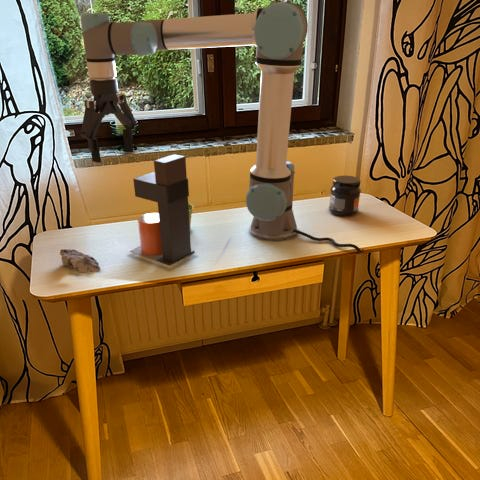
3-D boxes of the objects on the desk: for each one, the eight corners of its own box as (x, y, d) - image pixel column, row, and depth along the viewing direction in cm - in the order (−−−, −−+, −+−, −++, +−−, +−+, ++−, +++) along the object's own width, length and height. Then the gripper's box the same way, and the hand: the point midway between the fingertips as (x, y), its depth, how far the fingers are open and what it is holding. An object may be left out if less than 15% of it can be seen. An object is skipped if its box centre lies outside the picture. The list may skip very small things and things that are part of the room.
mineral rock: (105, 273, 142) (103, 259, 140) (78, 281, 138) (75, 267, 136) (85, 255, 152) (83, 242, 150) (59, 262, 148) (56, 248, 146)
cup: (172, 245, 155) (169, 213, 150) (163, 256, 148) (160, 224, 143) (147, 242, 156) (143, 211, 151) (137, 253, 150) (133, 221, 144)
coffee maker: (129, 255, 152) (116, 154, 136) (155, 243, 160) (145, 146, 144) (169, 270, 144) (160, 164, 128) (194, 256, 151) (189, 155, 135)
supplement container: (362, 210, 184) (366, 177, 178) (351, 219, 177) (355, 185, 170) (335, 205, 189) (338, 173, 182) (323, 213, 181) (326, 180, 175)
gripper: (124, 72, 150) (132, 146, 161) (57, 82, 132) (72, 164, 144) (143, 74, 147) (150, 149, 158) (77, 85, 129) (91, 168, 140)
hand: (113, 156), depth 151 cm, fingers open, 13 cm apart
